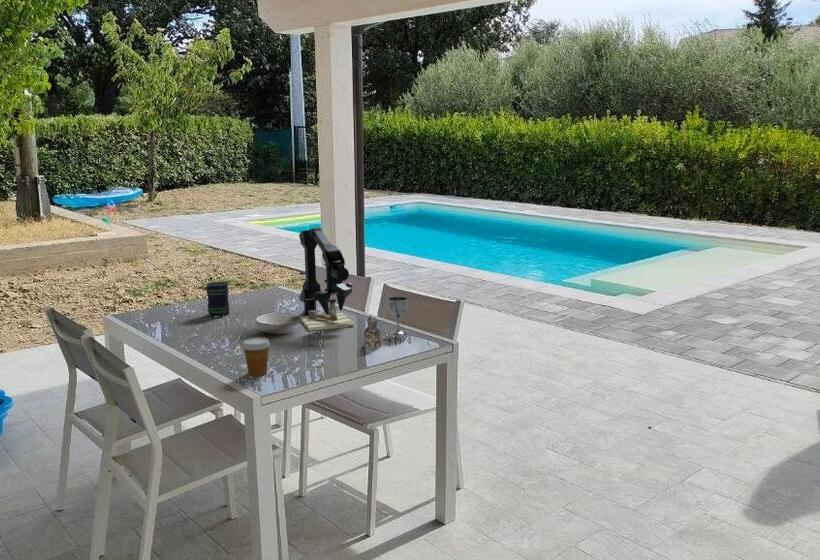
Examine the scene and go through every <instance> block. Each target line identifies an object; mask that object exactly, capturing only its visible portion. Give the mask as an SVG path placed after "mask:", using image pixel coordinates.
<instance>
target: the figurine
mask: <svg viewBox="0 0 820 560" xmlns="http://www.w3.org/2000/svg"><path fill="white" fill-rule="evenodd" d="M362 346H363V347H364V348H366V347H367V348H366V349H378V348H381V347H382V339H381V330H380V328H378V319H376V317H375V316H372V315H368V319H367V327H366V328H365V329H364V332H363V342H362Z"/></svg>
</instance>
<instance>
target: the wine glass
mask: <svg viewBox="0 0 820 560" xmlns="http://www.w3.org/2000/svg"><path fill="white" fill-rule="evenodd" d="M388 307H389V311H390V314H392V315H393V316H394V318H395V319H396V325H397V327H396V329H397V330H392V331H393V332H392V331H390V332H391V333H394V334H403V335H405V334H404V333H406V332H407V331H406V332H405V330H400V321H401V318H402V317H403V315H405V313H407V308H408V297H406V296H402V295H399V296H398V295H397V296H396V295H395V296H391V297H388ZM406 334H407V333H406Z"/></svg>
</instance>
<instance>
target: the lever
mask: <svg viewBox="0 0 820 560" xmlns="http://www.w3.org/2000/svg"><path fill="white" fill-rule="evenodd" d="M336 301H337V298H331V299H330V302H329V307H330V315H326V313H322V312H321V313H320V312H318V310H317V311H309V315H308V316H309V318H320V319H325V320H329V321H337V317H336V316H335V308H336ZM317 312H318V313H317Z"/></svg>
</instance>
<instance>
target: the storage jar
mask: <svg viewBox="0 0 820 560" xmlns="http://www.w3.org/2000/svg"><path fill="white" fill-rule="evenodd" d="M206 296H207V302H208V303H207V313H208V314H209V315H210V316H223V315H228V314H229V315H230V303H229V285H228V282H227V281H213V282H208V283H206ZM209 315H208V316H209ZM229 315H228V316H229Z"/></svg>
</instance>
